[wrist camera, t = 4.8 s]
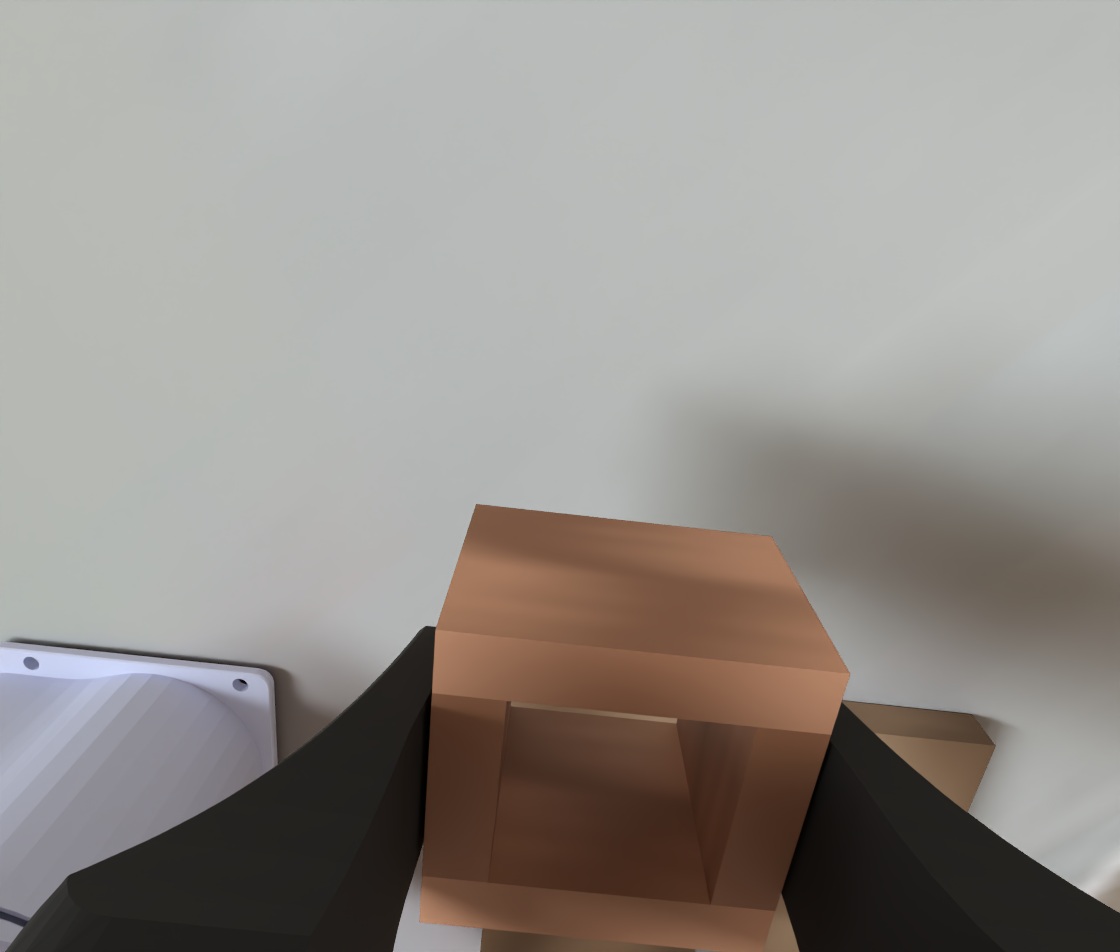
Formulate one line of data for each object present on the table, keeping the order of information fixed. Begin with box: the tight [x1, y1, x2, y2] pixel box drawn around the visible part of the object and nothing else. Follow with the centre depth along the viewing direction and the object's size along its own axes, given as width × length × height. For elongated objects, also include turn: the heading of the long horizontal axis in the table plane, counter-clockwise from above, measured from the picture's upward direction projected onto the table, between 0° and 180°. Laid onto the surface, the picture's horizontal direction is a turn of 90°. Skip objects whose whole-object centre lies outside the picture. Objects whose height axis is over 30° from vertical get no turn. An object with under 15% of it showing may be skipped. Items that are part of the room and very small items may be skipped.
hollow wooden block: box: [419, 504, 850, 952], centre depth 12 cm, size 5×5×4 cm
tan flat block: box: [480, 701, 996, 952], centre depth 24 cm, size 16×14×6 cm
